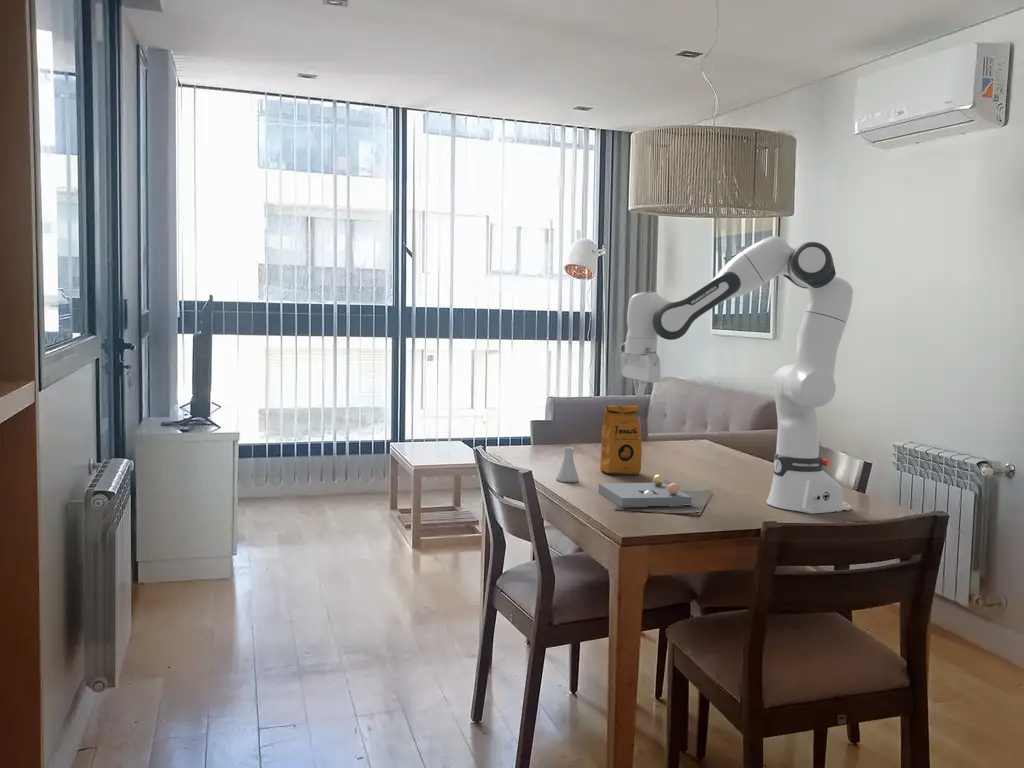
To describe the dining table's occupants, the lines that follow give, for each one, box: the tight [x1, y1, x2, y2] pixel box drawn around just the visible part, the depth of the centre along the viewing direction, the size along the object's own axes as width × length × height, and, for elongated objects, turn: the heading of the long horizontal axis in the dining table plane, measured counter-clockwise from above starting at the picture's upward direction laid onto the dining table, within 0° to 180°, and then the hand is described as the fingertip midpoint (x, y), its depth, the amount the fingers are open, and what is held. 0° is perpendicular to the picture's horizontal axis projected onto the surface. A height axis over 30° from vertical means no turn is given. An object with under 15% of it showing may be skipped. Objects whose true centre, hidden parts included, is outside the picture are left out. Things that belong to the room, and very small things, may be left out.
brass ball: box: [652, 474, 665, 486], centre depth 237 cm, size 3×3×3 cm
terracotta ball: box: [668, 482, 680, 495], centre depth 226 cm, size 3×3×3 cm
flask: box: [555, 446, 580, 483], centre depth 251 cm, size 7×7×10 cm
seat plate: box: [597, 482, 692, 508], centre depth 230 cm, size 20×18×2 cm
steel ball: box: [643, 490, 654, 494], centre depth 227 cm, size 3×3×3 cm
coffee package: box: [599, 404, 643, 476], centre depth 265 cm, size 10×12×22 cm
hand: (639, 395), depth 241 cm, fingers closed
